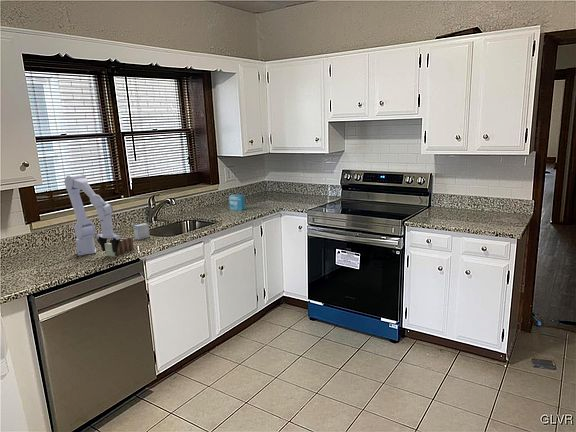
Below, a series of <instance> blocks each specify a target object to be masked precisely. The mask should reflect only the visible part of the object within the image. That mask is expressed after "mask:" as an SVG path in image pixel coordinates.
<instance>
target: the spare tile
mask: <svg viewBox="0 0 576 432" xmlns="http://www.w3.org/2000/svg"><path fill="white" fill-rule="evenodd" d="M104 252H105V256H106V257H113V258H114V257H116V255H115V252H113V248H112V244H111V243H110V242H107V243H105V251H104Z"/></svg>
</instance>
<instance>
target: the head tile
mask: <svg viewBox="0 0 576 432" xmlns="http://www.w3.org/2000/svg"><path fill="white" fill-rule="evenodd" d="M123 238H128V242H129V250H134V249H135V246H134V240H133V239H134V238H133V236H127V235H126V236H123Z"/></svg>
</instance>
